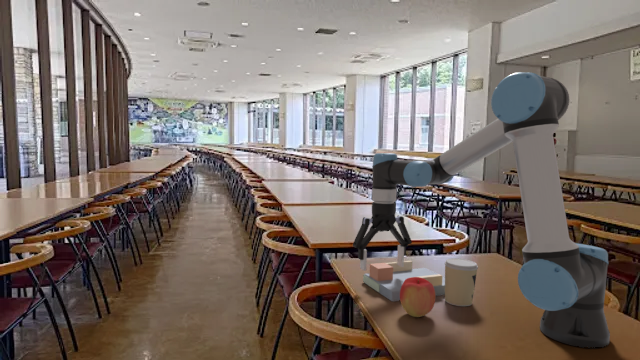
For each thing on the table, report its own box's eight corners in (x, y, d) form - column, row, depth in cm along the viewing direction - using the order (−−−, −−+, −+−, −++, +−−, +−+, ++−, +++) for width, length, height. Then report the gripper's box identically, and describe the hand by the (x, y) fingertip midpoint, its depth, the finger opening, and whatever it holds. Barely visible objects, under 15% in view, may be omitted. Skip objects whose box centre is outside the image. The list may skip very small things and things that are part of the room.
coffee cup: (479, 308, 127) (482, 267, 126) (446, 306, 127) (449, 265, 126) (469, 297, 136) (471, 258, 135) (438, 295, 136) (441, 257, 136)
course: (458, 292, 140) (459, 274, 139) (391, 301, 131) (392, 281, 130) (424, 275, 156) (425, 259, 156) (363, 282, 147) (363, 264, 147)
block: (392, 279, 142) (393, 267, 141) (377, 281, 140) (378, 268, 139) (384, 274, 147) (384, 262, 146) (369, 275, 145) (369, 263, 144)
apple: (392, 310, 124) (393, 275, 123) (421, 307, 127) (423, 273, 126) (411, 324, 115) (412, 287, 114) (441, 320, 118) (443, 283, 117)
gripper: (410, 199, 149) (408, 261, 150) (343, 201, 139) (341, 268, 141) (423, 202, 142) (421, 267, 143) (353, 204, 132) (352, 274, 134)
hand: (382, 267), depth 142 cm, fingers open, 13 cm apart
